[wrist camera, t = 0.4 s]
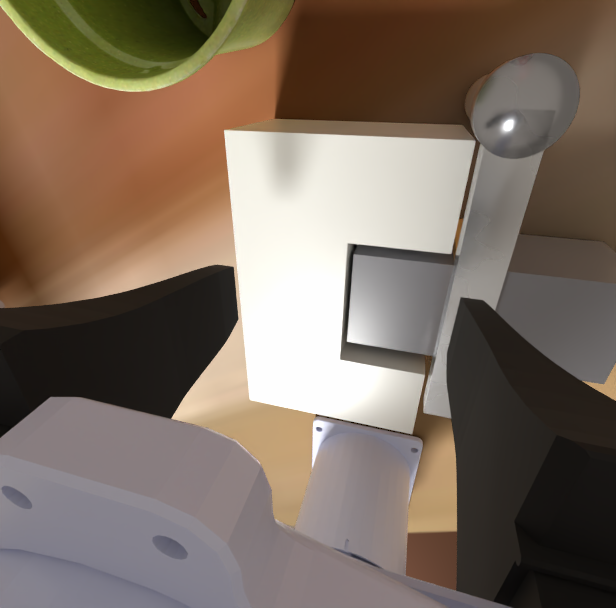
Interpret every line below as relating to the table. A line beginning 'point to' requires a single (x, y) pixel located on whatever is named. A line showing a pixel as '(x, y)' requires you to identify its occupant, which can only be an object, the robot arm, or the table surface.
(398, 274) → the plug
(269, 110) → the table surface
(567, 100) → the flat metal lever
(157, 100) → the table surface
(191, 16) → the plant pot
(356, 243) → the socket block
